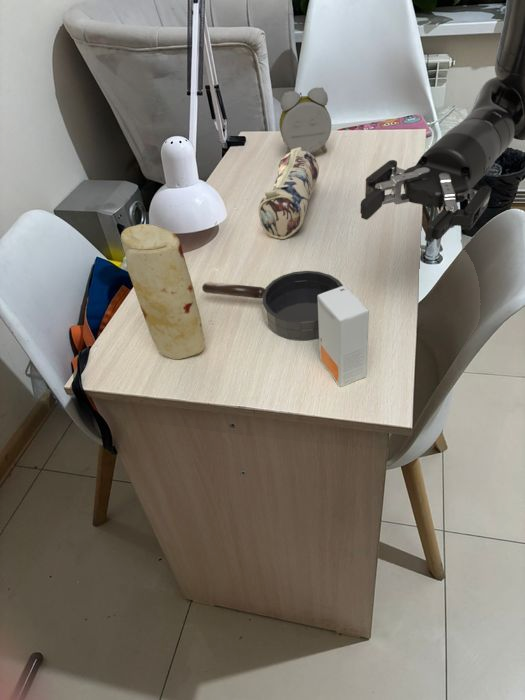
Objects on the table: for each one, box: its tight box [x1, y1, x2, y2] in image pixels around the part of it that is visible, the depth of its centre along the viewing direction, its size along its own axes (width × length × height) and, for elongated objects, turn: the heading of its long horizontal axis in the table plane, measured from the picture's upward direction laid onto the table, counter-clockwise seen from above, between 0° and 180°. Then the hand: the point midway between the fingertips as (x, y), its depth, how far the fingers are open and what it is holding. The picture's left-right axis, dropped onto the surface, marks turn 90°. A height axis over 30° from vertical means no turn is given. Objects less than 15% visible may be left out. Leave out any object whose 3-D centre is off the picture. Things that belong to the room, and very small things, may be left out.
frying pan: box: [261, 270, 344, 342], centre depth 79 cm, size 13×13×4 cm
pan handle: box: [201, 281, 265, 300], centre depth 82 cm, size 11×2×2 cm, turn 73°
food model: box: [120, 223, 206, 360], centre depth 71 cm, size 10×7×20 cm
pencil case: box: [257, 147, 320, 240], centre depth 101 cm, size 22×8×10 cm, turn 167°
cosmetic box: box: [318, 284, 370, 388], centre depth 67 cm, size 6×4×12 cm
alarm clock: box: [279, 86, 332, 156], centre depth 118 cm, size 12×7×15 cm, turn 94°
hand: (395, 223), depth 60 cm, fingers open, 8 cm apart
